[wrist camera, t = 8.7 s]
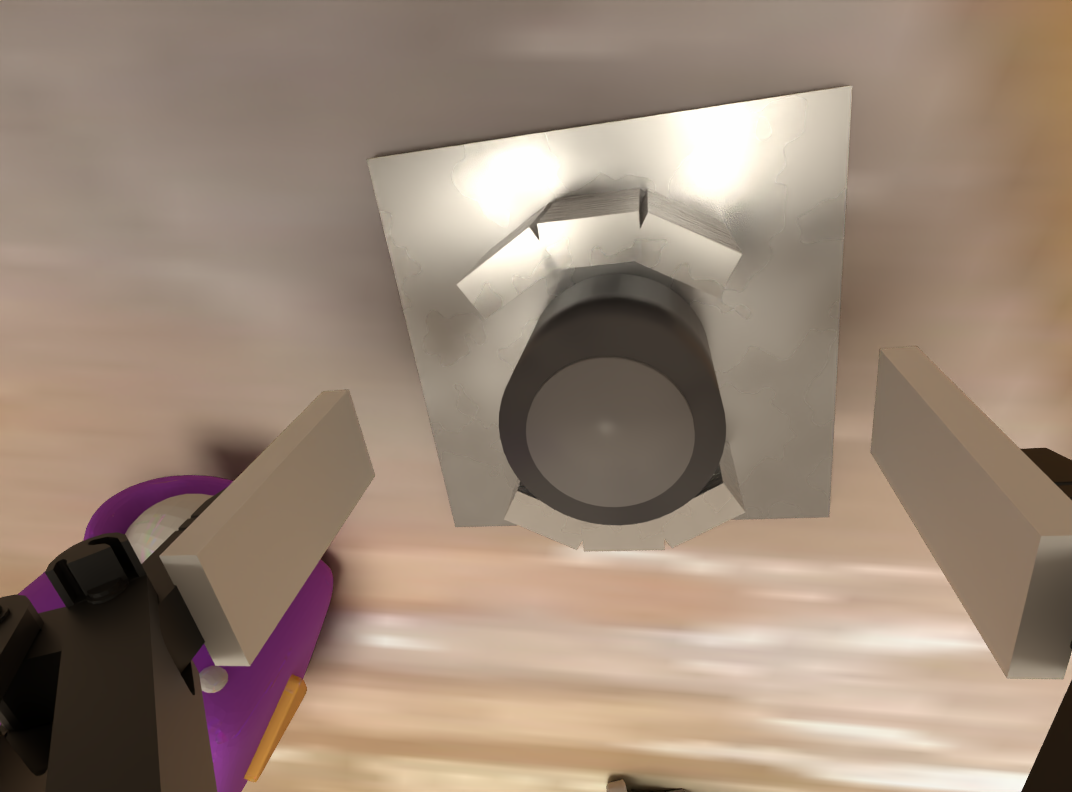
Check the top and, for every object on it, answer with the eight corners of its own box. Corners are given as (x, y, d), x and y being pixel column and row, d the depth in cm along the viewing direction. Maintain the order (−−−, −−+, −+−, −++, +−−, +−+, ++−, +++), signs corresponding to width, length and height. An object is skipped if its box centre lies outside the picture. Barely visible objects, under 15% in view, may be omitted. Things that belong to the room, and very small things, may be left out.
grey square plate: (373, 157, 20) (305, 175, 16) (846, 85, 18) (907, 85, 13) (459, 517, 26) (424, 598, 22) (824, 507, 23) (863, 596, 19)
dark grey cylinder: (516, 283, 21) (478, 339, 16) (706, 264, 20) (724, 318, 15) (542, 444, 23) (515, 532, 19) (712, 435, 22) (729, 528, 17)
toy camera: (363, 467, 26) (216, 667, 17) (342, 689, 32) (226, 921, 23) (113, 401, 26) (-158, 561, 17) (140, 632, 33) (-50, 838, 24)
